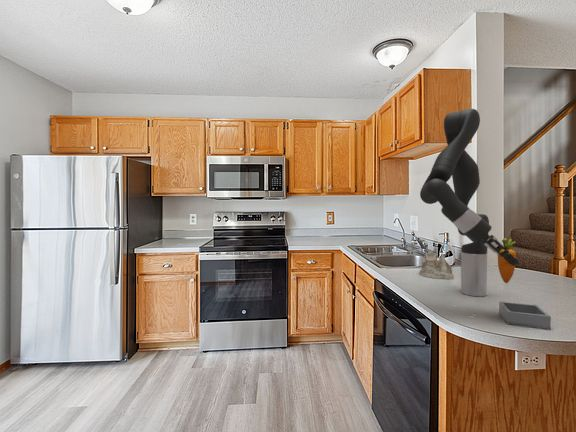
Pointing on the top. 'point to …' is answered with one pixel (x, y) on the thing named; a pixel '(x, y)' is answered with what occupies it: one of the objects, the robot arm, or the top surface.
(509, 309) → the bin
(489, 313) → the top surface
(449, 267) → the ceramic cottage
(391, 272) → the top surface
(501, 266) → the carrot
